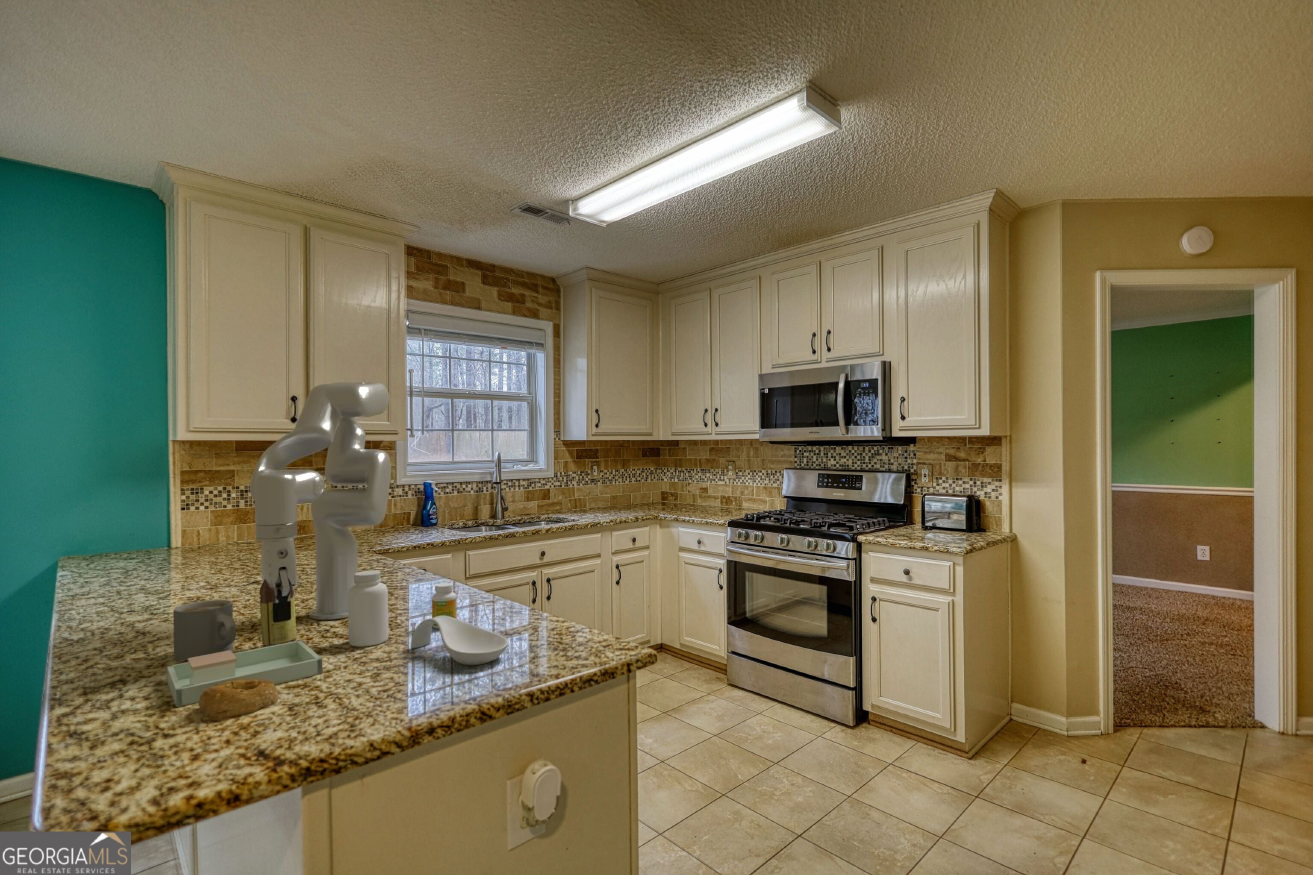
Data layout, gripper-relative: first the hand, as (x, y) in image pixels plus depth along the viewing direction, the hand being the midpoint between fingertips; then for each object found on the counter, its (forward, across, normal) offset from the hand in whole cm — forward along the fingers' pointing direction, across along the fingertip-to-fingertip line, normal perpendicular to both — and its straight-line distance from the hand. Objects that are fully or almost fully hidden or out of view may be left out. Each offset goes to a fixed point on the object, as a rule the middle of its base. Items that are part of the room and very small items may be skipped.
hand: (278, 616), depth 133 cm
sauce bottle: (+7, 0, 0) cm, 7 cm away
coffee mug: (+7, +6, +11) cm, 15 cm away
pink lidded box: (+6, -16, +13) cm, 21 cm away
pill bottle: (+7, -8, -16) cm, 19 cm away
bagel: (+7, -30, +12) cm, 33 cm away
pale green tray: (+7, -16, +8) cm, 19 cm away
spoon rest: (+7, -30, -26) cm, 40 cm away
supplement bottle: (+7, -8, -33) cm, 34 cm away
